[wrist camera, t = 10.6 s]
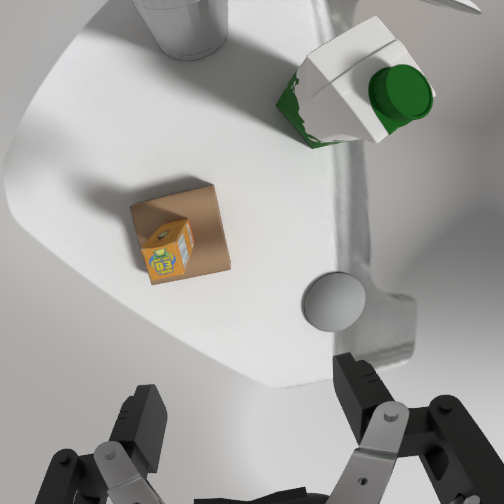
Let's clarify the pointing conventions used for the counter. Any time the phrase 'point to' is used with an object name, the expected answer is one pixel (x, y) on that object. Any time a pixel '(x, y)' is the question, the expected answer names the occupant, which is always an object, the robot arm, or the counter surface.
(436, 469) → the robot arm
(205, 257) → the walnut plinth
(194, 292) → the counter surface
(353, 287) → the grey coaster
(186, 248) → the supplement box
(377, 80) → the milk carton
